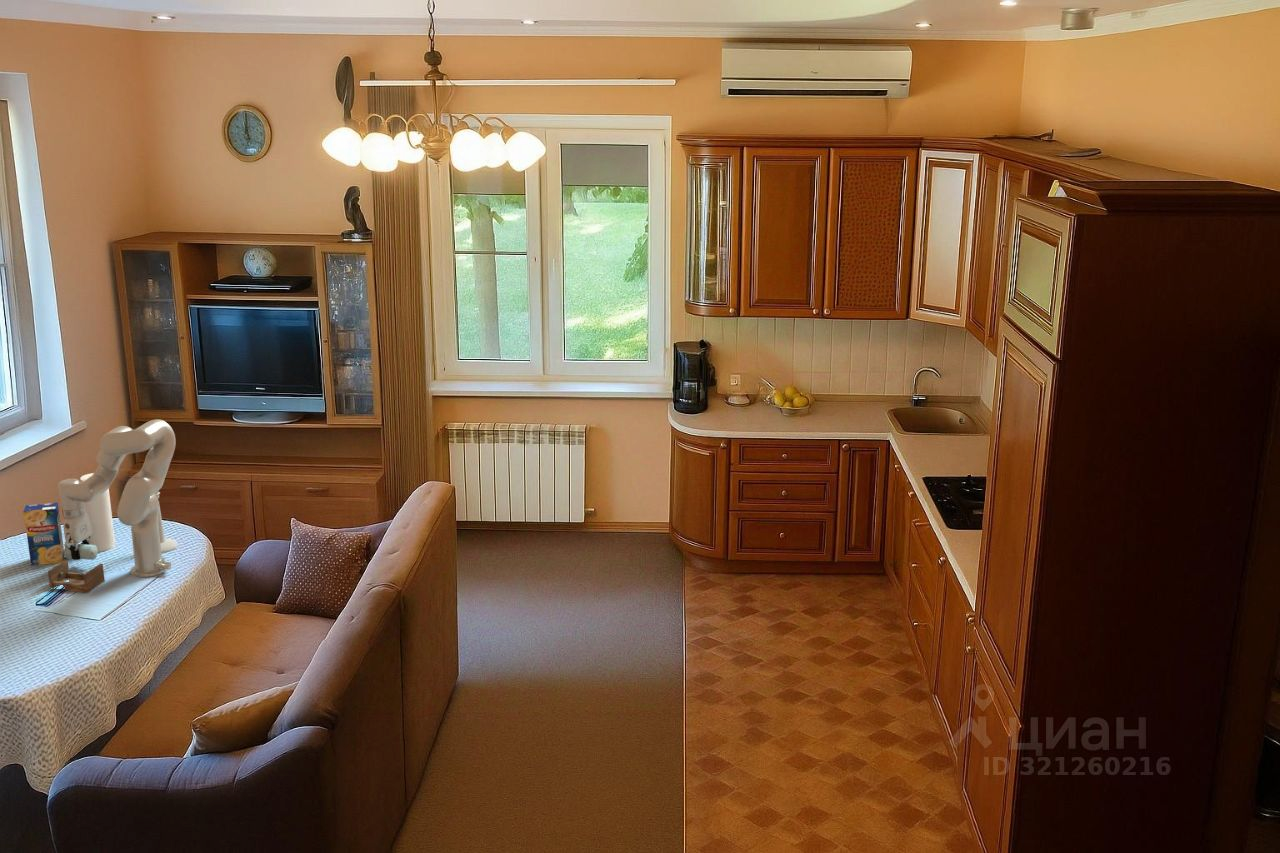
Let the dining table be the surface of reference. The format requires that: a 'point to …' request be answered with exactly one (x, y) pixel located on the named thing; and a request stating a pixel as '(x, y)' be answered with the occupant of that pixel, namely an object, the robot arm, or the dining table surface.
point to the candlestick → (165, 542)
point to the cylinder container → (100, 520)
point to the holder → (75, 578)
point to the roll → (83, 551)
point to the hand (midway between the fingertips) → (81, 555)
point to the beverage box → (44, 533)
